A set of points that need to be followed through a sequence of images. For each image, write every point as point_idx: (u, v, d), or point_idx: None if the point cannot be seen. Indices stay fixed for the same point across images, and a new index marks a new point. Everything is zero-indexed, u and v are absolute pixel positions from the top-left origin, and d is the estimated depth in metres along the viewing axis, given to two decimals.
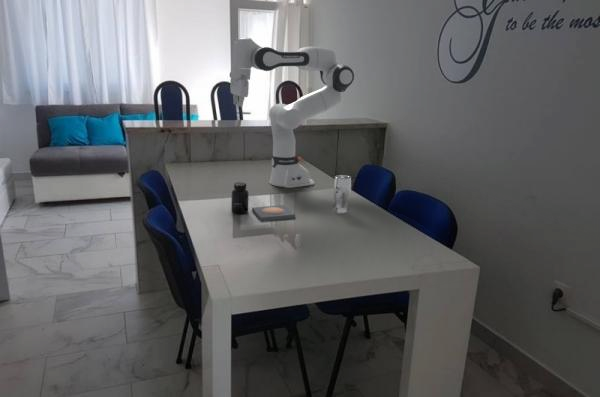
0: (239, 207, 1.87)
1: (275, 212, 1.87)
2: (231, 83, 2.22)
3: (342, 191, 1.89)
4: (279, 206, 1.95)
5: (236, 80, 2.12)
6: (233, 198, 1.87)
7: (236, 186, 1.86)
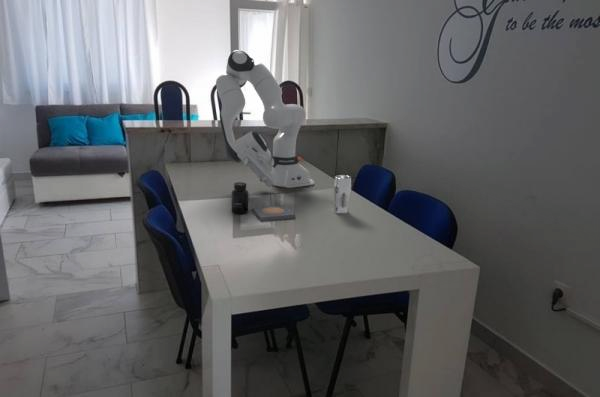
0: (239, 207, 1.87)
1: (275, 212, 1.87)
2: (247, 150, 2.07)
3: (342, 191, 1.89)
4: (279, 206, 1.95)
5: (264, 165, 2.11)
6: (233, 198, 1.87)
7: (236, 186, 1.86)
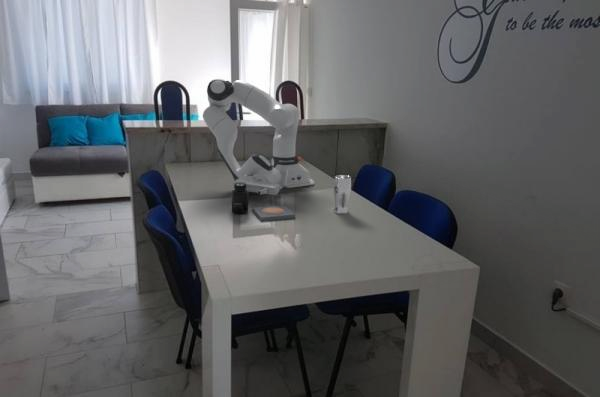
0: (239, 207, 1.87)
1: (275, 212, 1.87)
2: (241, 179, 2.08)
3: (342, 191, 1.89)
4: (279, 206, 1.95)
5: (264, 180, 2.07)
6: (233, 198, 1.87)
7: (236, 186, 1.86)
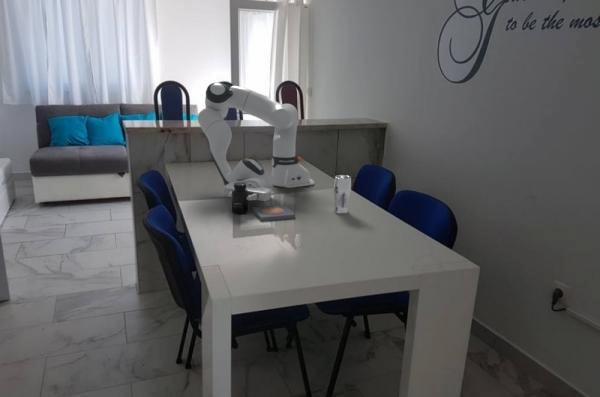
0: (239, 207, 1.87)
1: (275, 212, 1.87)
2: (231, 184, 1.98)
3: (342, 191, 1.89)
4: (279, 206, 1.95)
5: (255, 186, 1.97)
6: (233, 198, 1.87)
7: (236, 186, 1.86)
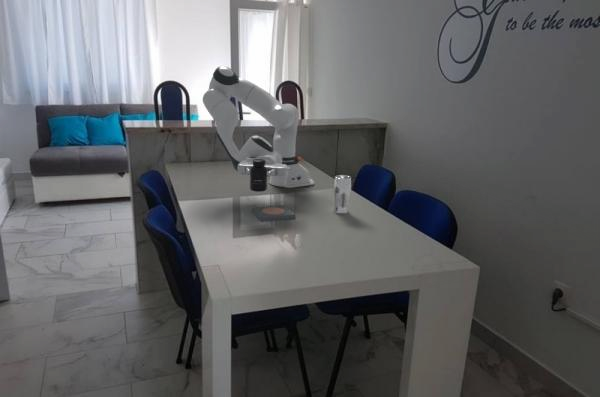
0: (259, 184, 1.82)
1: (275, 212, 1.87)
2: (245, 162, 1.93)
3: (342, 191, 1.89)
4: (279, 206, 1.95)
5: (270, 162, 1.93)
6: (253, 175, 1.82)
7: (256, 162, 1.81)
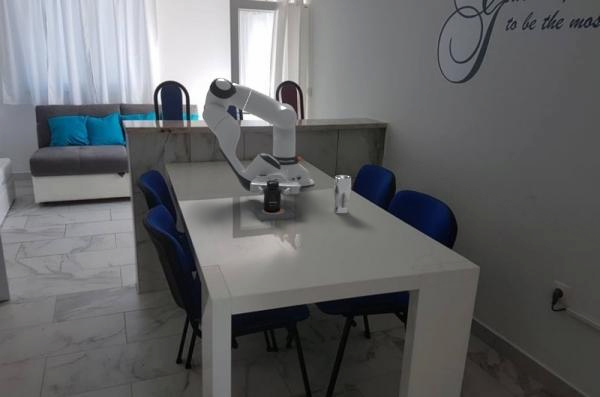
0: (274, 205, 1.85)
1: None
2: (256, 180, 1.94)
3: (342, 191, 1.89)
4: None
5: (281, 180, 1.96)
6: (268, 197, 1.84)
7: (271, 184, 1.83)
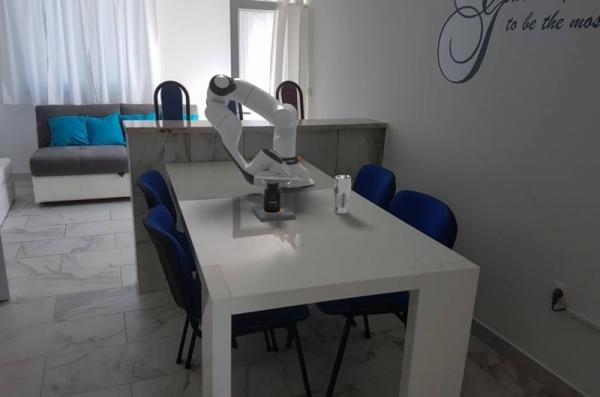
0: (274, 205, 1.85)
1: None
2: (259, 174, 2.04)
3: (342, 191, 1.89)
4: None
5: (283, 174, 2.05)
6: (268, 197, 1.84)
7: (270, 184, 1.83)
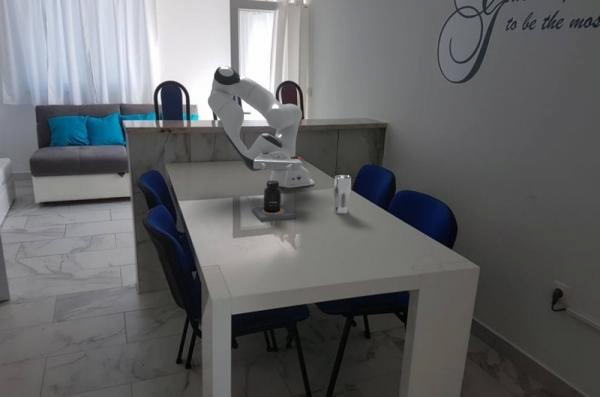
0: (274, 205, 1.85)
1: None
2: (259, 158, 2.02)
3: (342, 191, 1.89)
4: None
5: (283, 157, 2.03)
6: (268, 197, 1.84)
7: (270, 184, 1.83)
